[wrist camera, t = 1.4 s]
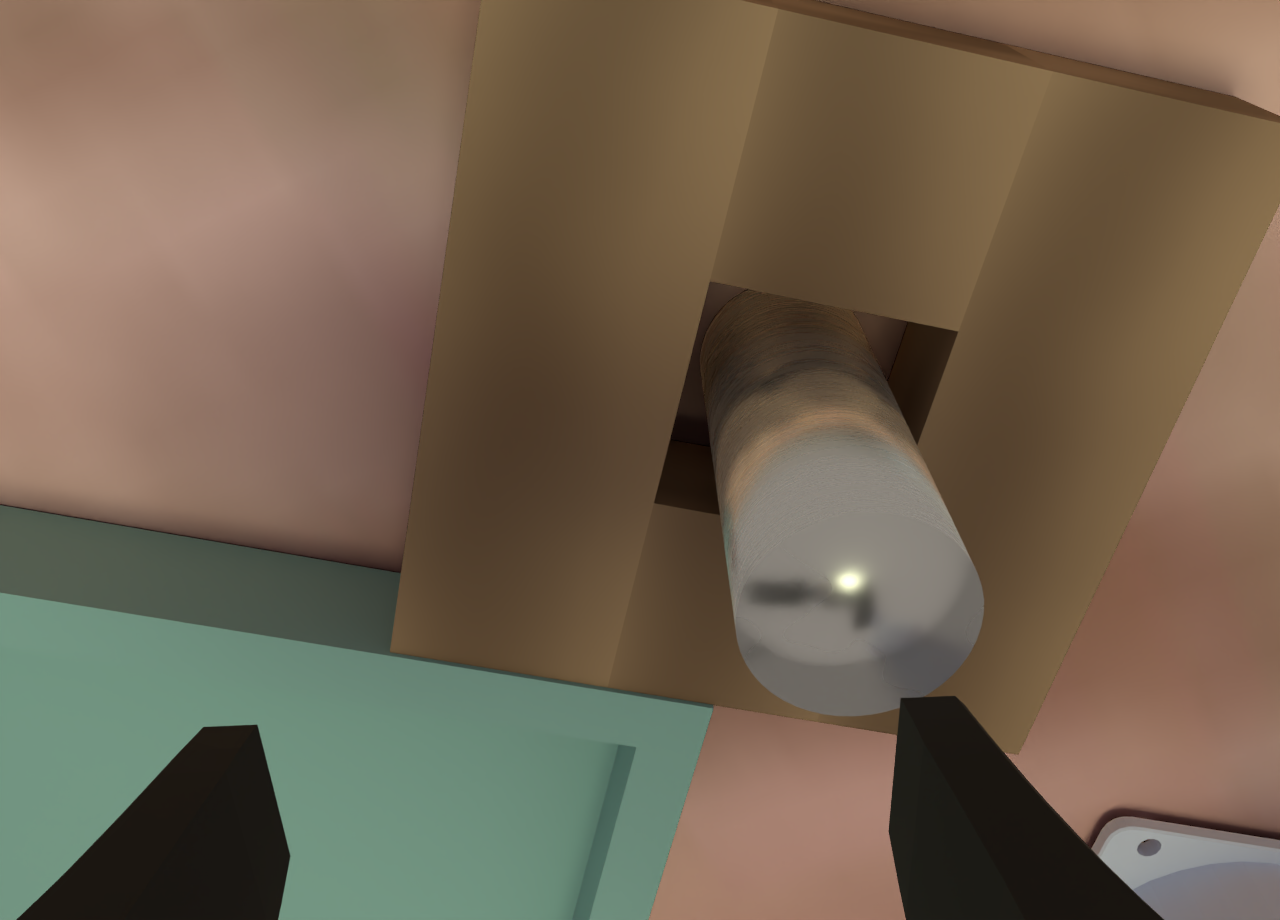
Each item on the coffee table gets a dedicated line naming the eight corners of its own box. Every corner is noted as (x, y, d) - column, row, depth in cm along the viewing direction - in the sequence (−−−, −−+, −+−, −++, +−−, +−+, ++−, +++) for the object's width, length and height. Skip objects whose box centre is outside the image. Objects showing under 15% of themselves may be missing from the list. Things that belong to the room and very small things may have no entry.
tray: (705, 624, 24) (713, 708, 22) (552, 1149, 32) (546, 1250, 30) (-224, 466, 22) (-323, 540, 20) (-134, 1067, 30) (-197, 1167, 28)
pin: (886, 299, 21) (1020, 537, 14) (838, 446, 22) (937, 732, 15) (722, 265, 20) (771, 492, 13) (683, 417, 22) (710, 695, 15)
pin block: (1235, 97, 19) (1314, 130, 17) (983, 672, 25) (1017, 754, 22) (506, -71, 18) (488, -58, 16) (412, 575, 23) (389, 652, 21)
